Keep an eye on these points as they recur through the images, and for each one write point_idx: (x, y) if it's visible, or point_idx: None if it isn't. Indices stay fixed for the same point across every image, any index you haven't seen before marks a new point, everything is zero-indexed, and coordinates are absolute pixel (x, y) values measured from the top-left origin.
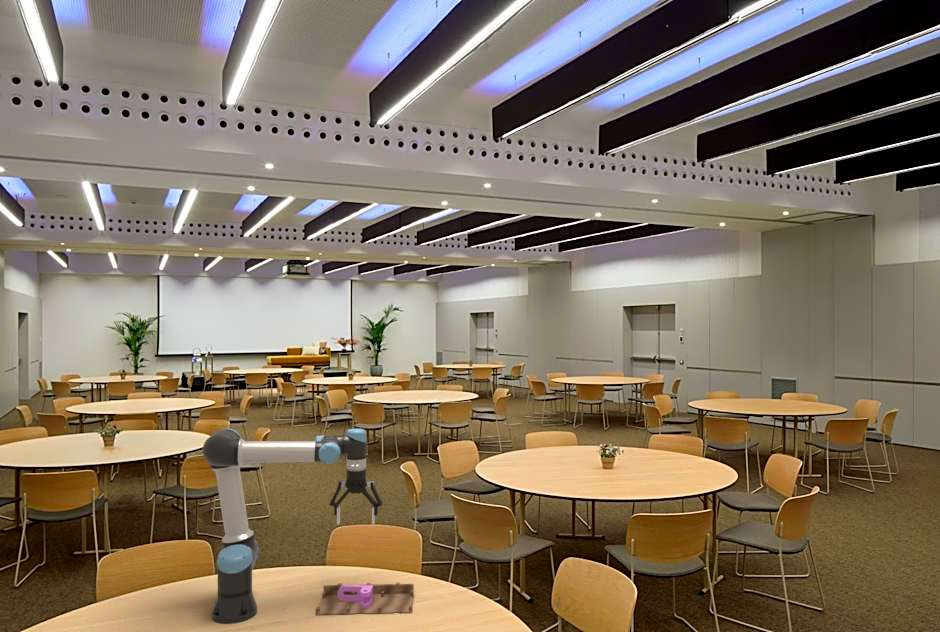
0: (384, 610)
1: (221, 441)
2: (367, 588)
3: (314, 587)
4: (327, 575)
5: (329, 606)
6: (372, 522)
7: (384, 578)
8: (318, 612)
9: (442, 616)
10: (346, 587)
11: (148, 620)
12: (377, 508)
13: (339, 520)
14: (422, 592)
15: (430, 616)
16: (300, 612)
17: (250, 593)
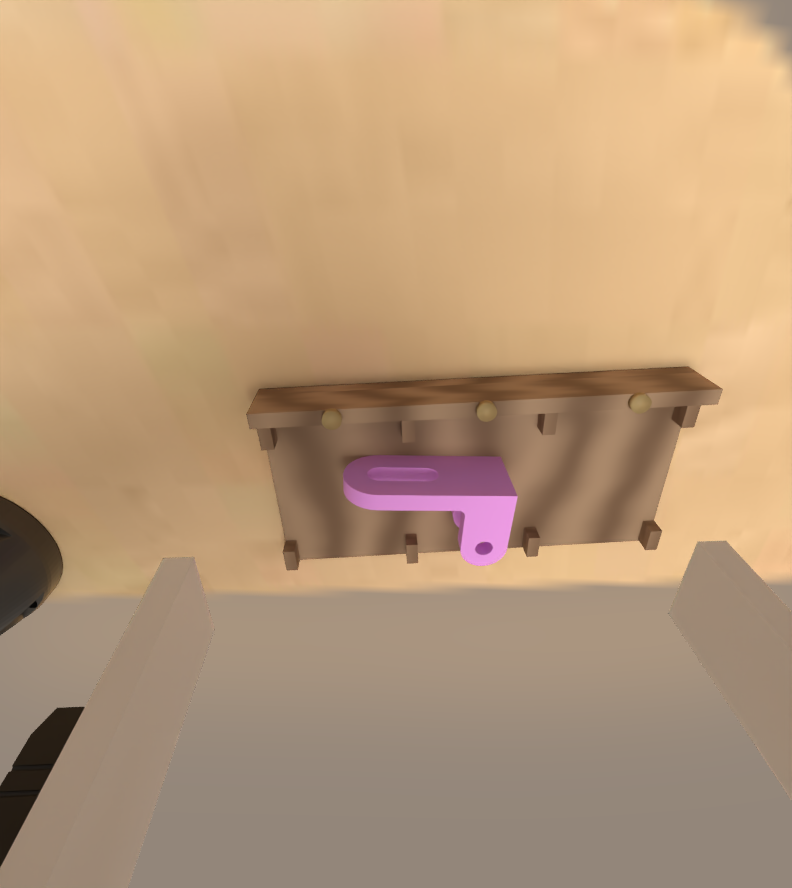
0: (547, 533)
1: None
2: (491, 527)
3: (156, 271)
4: (149, 47)
5: (324, 510)
6: (692, 640)
7: (558, 117)
8: (299, 560)
9: (749, 535)
10: (386, 507)
11: None
12: None
13: (189, 631)
14: (739, 333)
15: (707, 536)
16: (218, 521)
17: None
